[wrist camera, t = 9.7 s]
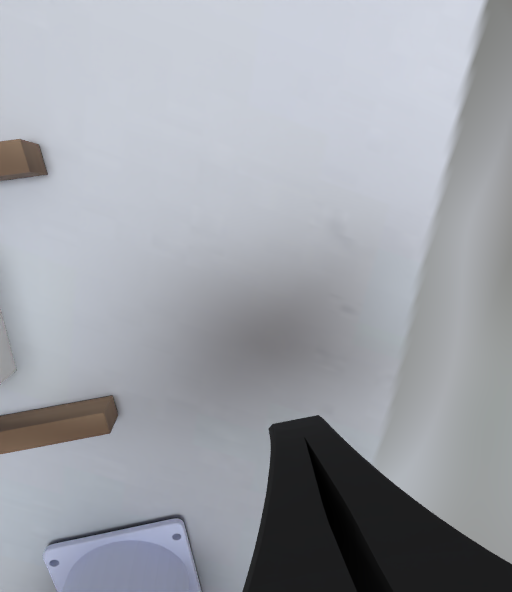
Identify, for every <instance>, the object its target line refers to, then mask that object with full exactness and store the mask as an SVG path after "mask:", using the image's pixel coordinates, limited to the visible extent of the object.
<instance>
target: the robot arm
mask: <svg viewBox="0 0 512 592" xmlns="http://www.w3.org/2000/svg"><path fill="white" fill-rule="evenodd" d="M269 434H270V440H271V455H270V469H269V477H268V485H267V492H266V498H265V503H264V508H263V513H262V518H261V524H260V528H259V533H258V537H257V541H256V545H255V549H254V553H253V557H252V561H251V564H250V568H249V572H248V575H247V579H246V582H245V585H244V589H243V592H512V564H510V563H509V562H507V561H505V560H503V559H502V558H500V557H498V556H497V555H495V554H493V553H492V552H490V551H488V550H487V549H485V548H484V547H482V546H481V545H479V544H477V543H476V542H474V541H472V540H471V539H470V538H468V537H466V536H465V535H464V534H462V533H461V532H459V531H458V530H456V529H454V528H453V527H452V526H450V525H449V524H447V523H446V522H444V521H443V520H441V519H440V518H439V517H437V516H436V515H434V514H433V513H431V512H430V511H429V510H428V509H426V508H425V507H423V506H422V505H421V504H419V503H418V502H417V501H415V500H414V499H413V498H412V497H410V496H409V495H408V494H406V493H405V492H404V491H403V490H401V489H400V488H399V487H397V486H396V485H395V484H394V483H393V482H391V481H390V480H389V479H388V478H386V477H385V476H384V475H383V474H382V473H380V472H379V471H378V470H377V469H376V468H375V467H374V466H372V465H371V464H370V463H369V462H368V461H367V460H366V459H364V458H363V457H362V456H361V455H360V454H359V453H358V452H357V451H355V450H354V449H353V448H352V447H351V446H350V445H349V444H348V443H347V442H346V441H345V440H344V439H343V438H342V437H341V436H340V435H339V434H338V433H337V432H336V431H335V430H334V429H333V428H332V427H331V426H330V425H329V424H328V423H327V422H326V421H325V420H324V419H323V418H322V417H320V416H319V415H317V416H312V417H307V418H301V419H296V420H291V421H286V422H281V423H276V424H272V425H271V427H270V428H269ZM176 533H178V534H176ZM43 559H44V562H45V564H46V566H47V569H48V571H49V573H50V576H51V578H52V580H53V583H54V585H55V588H56V590H57V592H202V591H201V587H200V583H199V579H198V575H197V572H196V568H195V564H194V560H193V556H192V552H191V548H190V544H189V540H188V536H187V533H186V529H185V525H184V522H183V521H182V520H181V519H178V518H174V519H169V520H165V521H160V522H155V523H150V524H146V525H141V526H136V527H131V528H127V529H122V530H117V531H112V532H108V533H103V534H98V535H93V536H89V537H84V538H79V539H74V540H70V541H65V542H60V543H55V544H51V545H49V546H47V547H46V549H45V551H44V553H43Z"/></svg>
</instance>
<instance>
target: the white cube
mask: <svg viewBox="0 0 512 592" xmlns="http://www.w3.org/2000/svg"><path fill="white" fill-rule="evenodd" d="M15 371H17V369H16V365H15V361H14V358H13V354H12V350H11V346H10V343H9V339H8V335H7V331H6V327H5V324H4V320H3V316H2V312H1V308H0V385H1V384H2V383H3V382H4V381H5V380H6V379H7V378H9V377H10V376H11V375H12V374H13V373H14V372H15Z"/></svg>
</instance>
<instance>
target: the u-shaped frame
mask: <svg viewBox="0 0 512 592" xmlns="http://www.w3.org/2000/svg"><path fill="white" fill-rule="evenodd" d="M40 175H48V174H47V171H46V168H45V164H44V161H43V157H42V154H41V151H40V147H39V145H38V144H35V143H31V142H28V141H25V140H21V139H16V140H8V141H0V181H3V180H11V179H18V178H25V177H33V176H40ZM117 417H118V413H117V409H116V406H115V403H114V399H113V396H107V397H102V398H96V399H91V400H85V401H80V402H74V403H69V404H63V405H58V406H52V407H47V408H41V409H36V410H30V411H25V412H19V413H14V414H9V415H3V416H0V454H5V453H10V452H15V451H20V450H26V449H31V448H36V447H41V446H47V445H52V444H57V443H62V442H68V441H73V440H78V439H83V438H89V437H94V436H99V435H104V434H110V433H111V430H112V428H113V426H114V423H115V421H116V419H117Z"/></svg>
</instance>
